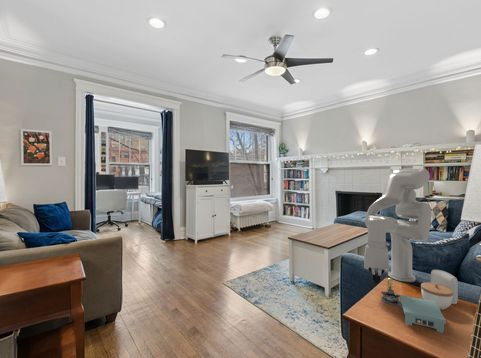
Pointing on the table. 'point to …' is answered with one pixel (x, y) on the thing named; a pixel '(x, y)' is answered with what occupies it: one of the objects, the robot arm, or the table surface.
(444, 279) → the photo printer
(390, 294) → the cross handle valve
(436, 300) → the lidded jar
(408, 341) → the table surface
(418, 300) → the spoked knob panel
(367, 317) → the table surface
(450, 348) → the table surface
